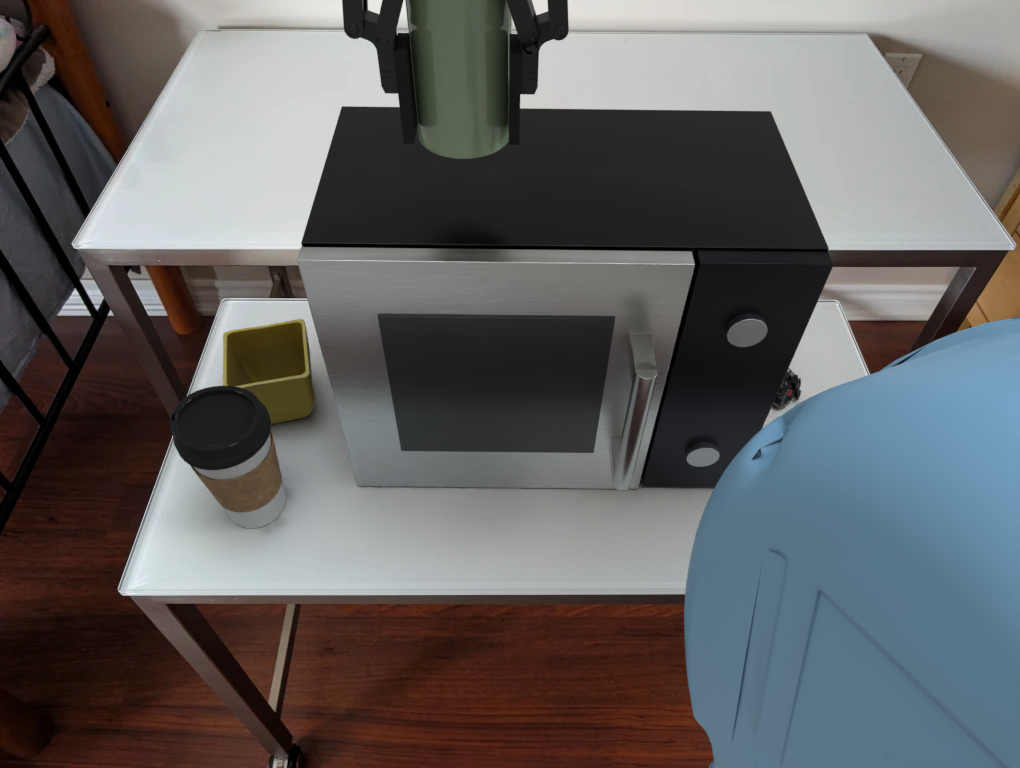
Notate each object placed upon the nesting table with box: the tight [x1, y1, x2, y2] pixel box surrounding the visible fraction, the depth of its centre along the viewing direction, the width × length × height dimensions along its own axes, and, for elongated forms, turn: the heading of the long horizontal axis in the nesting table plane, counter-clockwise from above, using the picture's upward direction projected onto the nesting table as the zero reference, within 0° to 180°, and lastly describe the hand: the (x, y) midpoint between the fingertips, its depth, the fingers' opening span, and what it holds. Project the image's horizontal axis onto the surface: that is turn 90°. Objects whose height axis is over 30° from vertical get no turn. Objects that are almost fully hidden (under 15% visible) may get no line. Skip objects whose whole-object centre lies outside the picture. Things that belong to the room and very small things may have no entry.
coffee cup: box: [169, 385, 287, 529], centre depth 72 cm, size 8×8×15 cm
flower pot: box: [222, 318, 315, 425], centre depth 82 cm, size 9×9×9 cm
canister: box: [404, 0, 513, 159], centre depth 51 cm, size 7×7×14 cm
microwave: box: [300, 105, 835, 489], centre depth 74 cm, size 22×40×31 cm, turn 90°
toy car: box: [773, 367, 802, 410], centre depth 88 cm, size 6×12×4 cm, turn 1°
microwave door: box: [296, 246, 695, 492], centre depth 66 cm, size 6×30×31 cm, turn 90°
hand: (462, 133), depth 53 cm, fingers closed on canister, 7 cm apart
